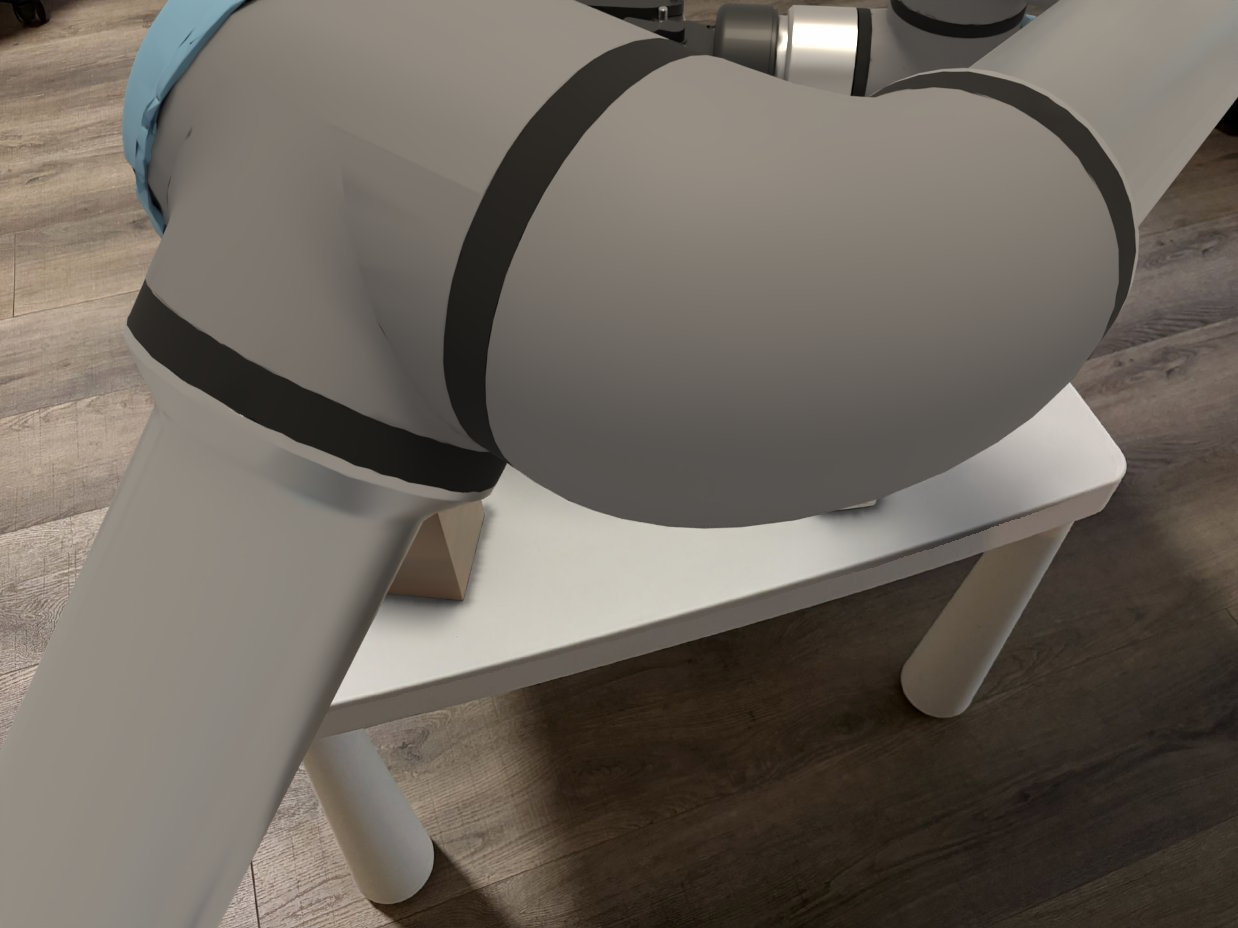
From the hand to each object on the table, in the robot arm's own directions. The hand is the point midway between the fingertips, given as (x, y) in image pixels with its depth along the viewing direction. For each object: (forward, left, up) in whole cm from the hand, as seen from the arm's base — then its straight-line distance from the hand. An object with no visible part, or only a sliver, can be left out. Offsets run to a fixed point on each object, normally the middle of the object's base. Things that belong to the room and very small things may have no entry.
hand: (411, 55), depth 60 cm
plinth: (-17, -8, -30) cm, 35 cm away
